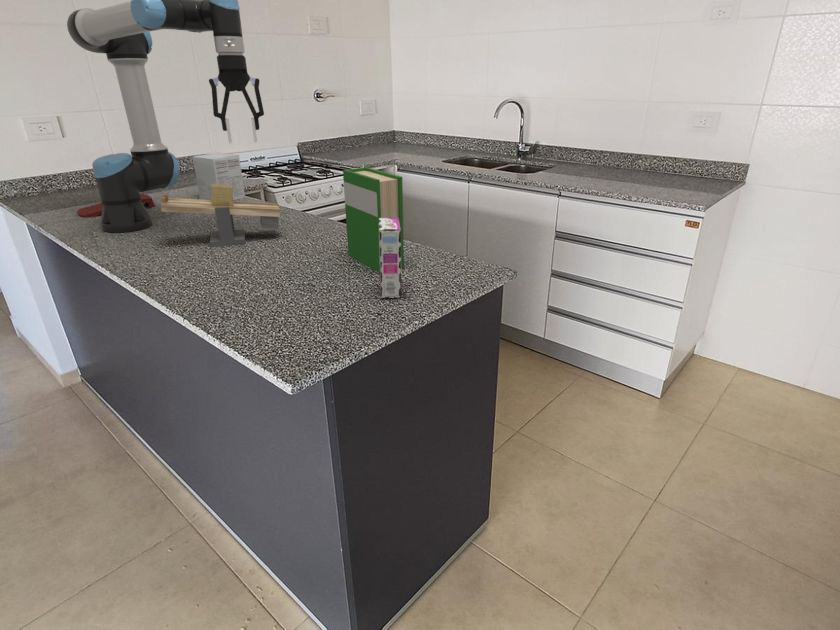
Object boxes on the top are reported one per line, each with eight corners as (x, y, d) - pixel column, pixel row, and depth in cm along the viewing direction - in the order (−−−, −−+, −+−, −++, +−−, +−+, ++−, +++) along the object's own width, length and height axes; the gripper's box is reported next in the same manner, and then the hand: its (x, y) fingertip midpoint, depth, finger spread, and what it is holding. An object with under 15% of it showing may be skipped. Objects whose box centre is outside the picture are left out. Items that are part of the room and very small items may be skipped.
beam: (166, 217, 159) (164, 192, 156) (277, 222, 169) (278, 198, 167) (162, 225, 150) (160, 199, 148) (279, 229, 161) (280, 205, 158)
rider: (212, 203, 159) (211, 183, 157) (233, 204, 161) (233, 184, 159) (211, 206, 155) (211, 186, 152) (233, 207, 157) (232, 187, 154)
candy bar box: (402, 298, 119) (401, 229, 112) (380, 299, 119) (378, 230, 112) (400, 281, 129) (398, 216, 123) (380, 282, 129) (377, 217, 122)
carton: (86, 228, 189) (156, 208, 202) (80, 216, 187) (152, 196, 199) (81, 222, 198) (149, 203, 210) (76, 209, 196) (144, 191, 208)
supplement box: (246, 197, 218) (240, 154, 211) (220, 203, 208) (212, 158, 201) (225, 194, 225) (218, 152, 217) (199, 200, 215) (191, 156, 207)
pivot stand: (212, 236, 166) (206, 200, 161) (244, 233, 169) (239, 198, 164) (210, 247, 156) (203, 209, 151) (245, 243, 158) (239, 206, 154)
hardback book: (403, 268, 138) (402, 176, 128) (379, 274, 134) (376, 180, 124) (371, 251, 151) (367, 167, 141) (348, 256, 147) (342, 170, 137)
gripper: (191, 53, 137) (207, 145, 147) (267, 54, 142) (277, 142, 152) (194, 54, 143) (208, 142, 153) (266, 55, 149) (276, 139, 158)
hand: (243, 142), depth 152 cm, fingers open, 6 cm apart
